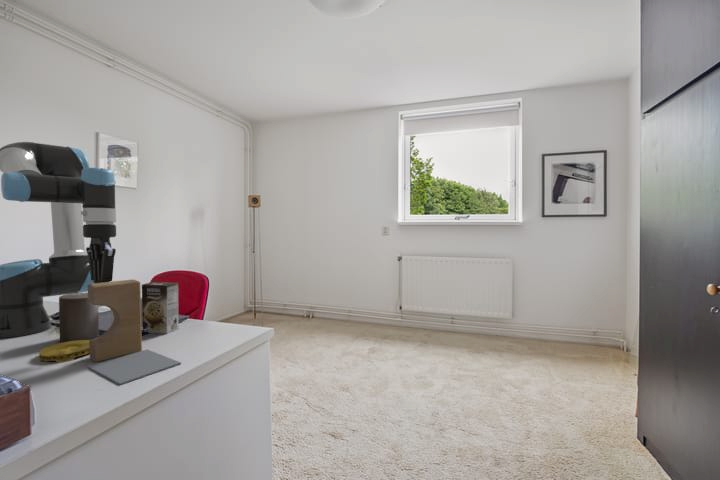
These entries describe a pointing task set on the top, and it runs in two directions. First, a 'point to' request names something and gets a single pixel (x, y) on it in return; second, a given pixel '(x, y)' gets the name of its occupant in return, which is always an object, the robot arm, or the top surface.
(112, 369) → the mat
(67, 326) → the pillar candle
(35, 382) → the top surface
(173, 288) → the coffee box
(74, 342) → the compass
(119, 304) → the decorative block
